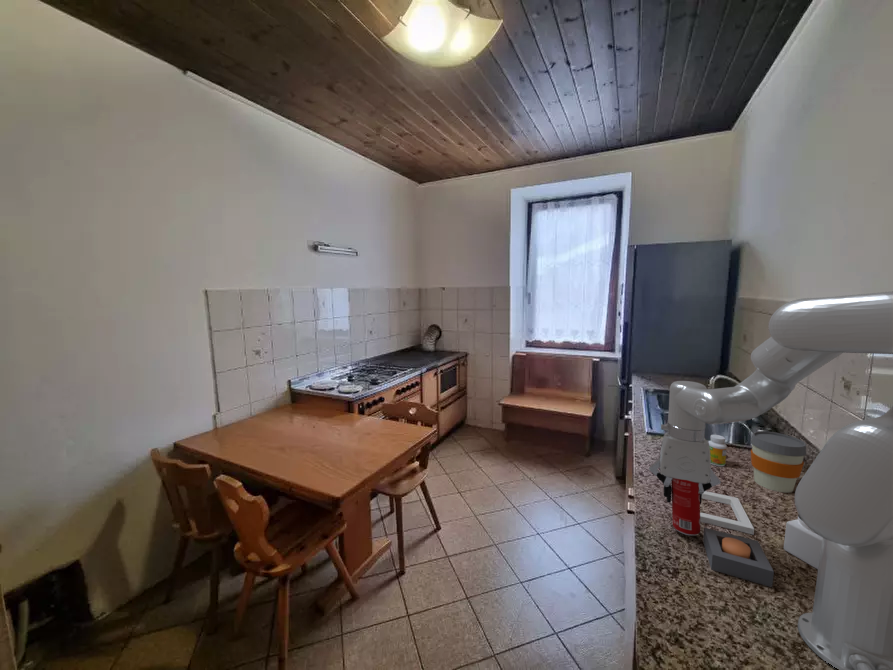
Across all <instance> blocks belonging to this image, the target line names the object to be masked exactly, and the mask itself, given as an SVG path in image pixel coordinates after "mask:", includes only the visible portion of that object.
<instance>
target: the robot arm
mask: <svg viewBox="0 0 893 670" xmlns="http://www.w3.org/2000/svg"><path fill="white" fill-rule="evenodd" d="M768 332H769V335H770V336H769V338H767V339H765V340H764V341H763V342H762V343H760V344H759V345H758V346H757V347H755V348H754V349H753V350H752V352H751V354H750V361H751V363H752V364H753V366H754V368H755V371H753V372H752V373H751V374H750V375H749V376H748V377H746V378H745V379H744V380H742V381H741V382H739V383H738V384H736V385H735V386H730V387H729V386H727V387H721V388H720V387H719V388H709V389H708V388H707V387H706V385H704V384H702V383H700V382H697V381H692V380H691V381H689V380H675V381H673V382H672V383H671V384H670V386H669V398H668V414H667V415H668V419H667V422H666V424H665V423H664V424H662V423H661V424H660V430H663V431H665V432H664V435H663V436H662V437H663V438H662V442H661V448H660V452H659V453H660V454H659V458H657V459H656V460H655V461H654V462H653V463H651V465H649V466H648V469H649V471H650V472H651V473H652V474H653V475H654V476H655V477H657V479H658V480H659V481H660V482H661V483H662V484H663V497H664V498H666V503H669V504H670V503H672V481H671V480H672V478H674V479H681V480H689V481H692V482H695V483H699V493H700V505H702V502H703V501H702V494H703V493H704V491H708V490H710V489H712V487H716V486H718V485H721V483H722V482H721V480H720V478H719V477H718V475H717V474H716V473H715V472H714V470H712V468H711V467H712V464H711V458H710V447H709V440H708V439H706V438H705V437H706V424H708V425H723V424H730V423H735V422H737V423H738V422H744V421H745V422H746V421H749V420H752V419H755V418H758V417H759V416H761V415H763V414H764V413H767V412H768V411H769V410H771V409H772V408H774V407H775V406H777V405H779V404H781V403H782V402H783V401H784V400H786V399H787V398H788V397H789V396H790V395H791V393H792V391H794V389H795V388H796V386H797V384H798V383H799V382H801V381H802V380H804V379H805V378H807V377H808V376H810V375H811V374H813V373H814V372H816V371H818V370H819V369H821V368H822V367H824V366H825V365H827V364H828V363H830V362H831V361H833V360H835V359H836V358H838V357H839V356H840V355H843V354H844V353H845V354H873V355H878V354H879V355H893V291H885V292H884V291H882V292H871V293H861V294H849V295H838V296H837V295H836V296H826V297H810V298H809V297H807V298H799V299H797V298H796V299H795V300H792V301H788V302H786V303H785V304H782V305H781V306H780V307H778V308H777V309H776V310H775V311H774V312H773V314H772V315H771V317H770V319H769V321H768ZM794 505H795V509H796V511H797V515H798V514H799V516H800V517H801V519H802V520H803V522H804V523H805V524H806V525H807V526H808V527H809V528H810V529H811V530H812V531H813V532H815V533H816V534H818V535H819V536H821V537H822V538H823V539H822V546H821V552H820V559H819V566H818V569H817V573H816V574H817V576H816V583H815V584H816V585H815V592H814V598H813V607H812V612H805V613H803V614H801V615H800V616H798V622H797V630H798V632H799V635H800V638H802V640H803V641H804V642H805V644H806V645H807V646H808V647H809V648H810V649H811V651H813V652H814V653H815V655H817V656H818V657H819V658H820V659H822V660H823V661H824V662H825V661H826V662H825V663H826V664H828V663H829V664H831V665H832V666H833V667H832V666H831V665H830V666H831V667H832V668H834V667H835V668H837V669H839V670H893V405H892V406H891V407H890V408H889V409H888V410H887V411H886V412H885V413H884V414H882V415H880V416H877V417H873V418H867V419H861V420H858V421H854V422H852V423H849V424H847V425H845V426H842V427H841V428H839V429H838V430H837V431H836V432H835V433H834V434H833V435H832V436H831V437H830V438H829V439H828V440H827V441H826V443H825V444H824V446H823V447H822V448H821V450H820V452H818V455H817V456H816V458H815V459H814V460H813V461H812V463H811V465H810V466H809V468H808V469H807V471H806V472H805V474H804V475H803V476H802V478H801V479H800V480H799V483H798V485H797V486H796V488H795V492H794ZM829 664H828V665H829ZM835 668H834V669H835Z"/></svg>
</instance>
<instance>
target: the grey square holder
mask: <svg viewBox="0 0 893 670" xmlns="http://www.w3.org/2000/svg"><path fill="white" fill-rule="evenodd" d="M726 537H730V538H734V539H737V540H740V541H742V542H744V543H745V544H747V545H748V546H749V547H750V549H751V551H750V559H747V558H743V557H739V556H736V555H732V554H728V553H725V552H722V540H723V538H726ZM702 542H703V545H704V550H705V552H706V557H707V561H708V565H709V566H710V570H712V571H715V572H719V573H722V574H725V575H729V576H731V577H732V576H733V577H734V578H739V579H742V580H745V581H749V582H752V583H756V584H758V585H759V584H760V585H762V586H764V587H765V586H766V587H770V588H773V582H774V574H775V573H774V572H775V571H774V569H773V567H772V566H771V564H770V562H769V559H768V558H767V555H766V554H765V552H764V550H763V548H762V545H761V544H760V542H759V541H758V540H756V539H752V538H747V537H743V536H740V535H735V534H732V533H727V532H724V531H720V530H716V529H712V528H707V527H704V528H703V536H702Z"/></svg>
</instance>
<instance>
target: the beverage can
mask: <svg viewBox="0 0 893 670" xmlns="http://www.w3.org/2000/svg"><path fill="white" fill-rule="evenodd" d="M671 489H672V490H671V513H672V515H671V516H672V517H671V518H672V527H673V528H674V529H675V530H676V531H677V532H679V533H680V534H684V535H686V536H690V537H691V536H697V535H699V534H700V533H701V522H700V512H701V504H700V493H699V483H695V482H692V481H689V480H681V479H674V478H672V480H671Z"/></svg>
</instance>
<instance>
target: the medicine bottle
mask: <svg viewBox="0 0 893 670" xmlns="http://www.w3.org/2000/svg"><path fill="white" fill-rule="evenodd" d="M785 524H786V525H785V532H784V533H785V534H784V542H783V551H786V552H787V553H789V554H791V555H792V556H794V557H796V558H798V559H800V561H802V562H804V563H806V564H808V565H809V566H811V567H813V568H814V569H816V570H818V566H819V559H820V552H821V546H822V539H823V538H822V537H821V536H819V535H818V534H816V533H815V532H813V531H812V530H811V529H810V528H809V527H808V526H807V525H806V524H805V523H804V522H803V520H802V519H801V517H800V516H799V514H798V513H797V519H792V520H789V521H787V522H786V523H785Z"/></svg>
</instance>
